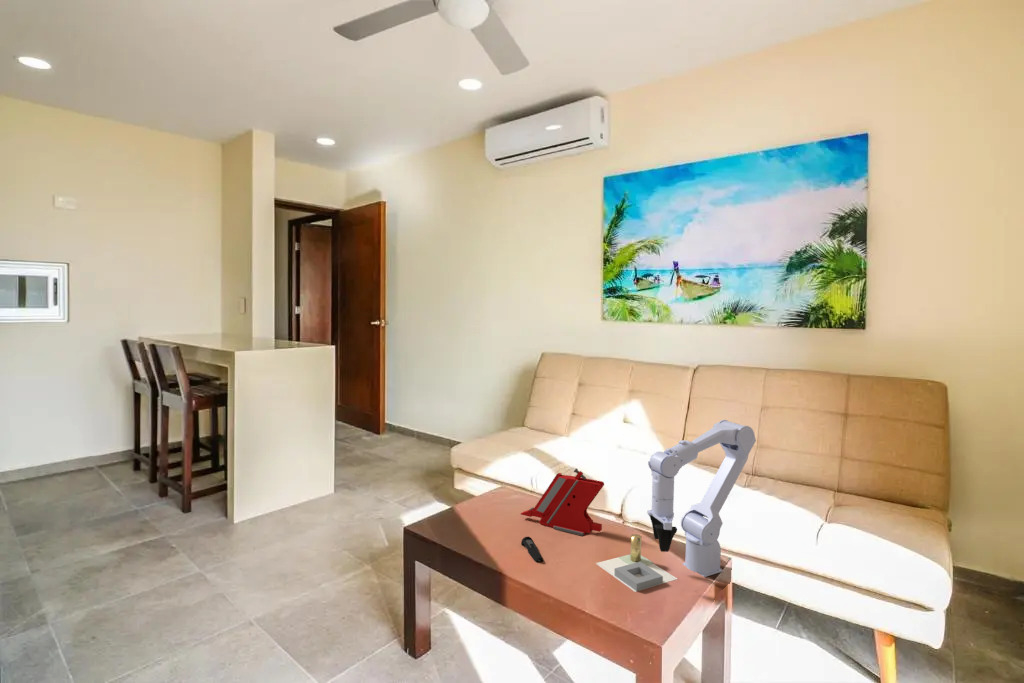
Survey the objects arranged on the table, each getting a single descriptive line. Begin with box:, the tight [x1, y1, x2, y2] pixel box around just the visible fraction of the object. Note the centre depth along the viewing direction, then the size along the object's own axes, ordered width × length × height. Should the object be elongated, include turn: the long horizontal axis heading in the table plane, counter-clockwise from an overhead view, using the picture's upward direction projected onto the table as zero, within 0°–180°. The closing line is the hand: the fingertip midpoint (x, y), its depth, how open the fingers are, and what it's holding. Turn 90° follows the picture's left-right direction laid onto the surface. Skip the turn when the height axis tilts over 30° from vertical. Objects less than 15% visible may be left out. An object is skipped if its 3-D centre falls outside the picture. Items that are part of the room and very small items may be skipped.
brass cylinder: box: [629, 533, 642, 562], centre depth 152 cm, size 3×3×7 cm
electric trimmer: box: [520, 536, 544, 563], centre depth 158 cm, size 4×15×3 cm, turn 14°
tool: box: [520, 467, 605, 537], centre depth 175 cm, size 27×6×27 cm, turn 64°
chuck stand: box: [595, 553, 678, 593], centre depth 146 cm, size 15×17×3 cm
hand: (661, 544), depth 144 cm, fingers open, 7 cm apart
